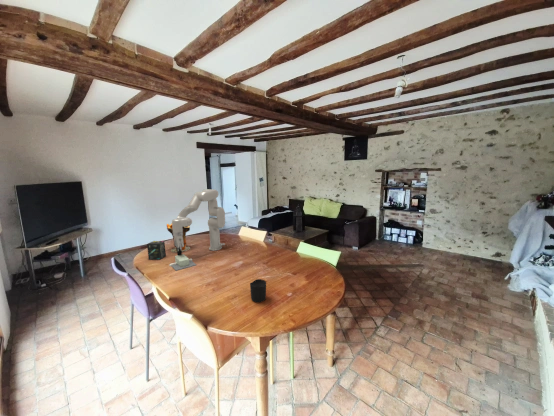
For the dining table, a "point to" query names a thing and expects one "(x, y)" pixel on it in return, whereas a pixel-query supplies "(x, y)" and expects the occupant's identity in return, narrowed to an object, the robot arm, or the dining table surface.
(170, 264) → the rail
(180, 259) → the sage block
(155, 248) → the tampon box
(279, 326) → the dining table surface
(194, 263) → the mat
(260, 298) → the pen holder
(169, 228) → the decorative vase
